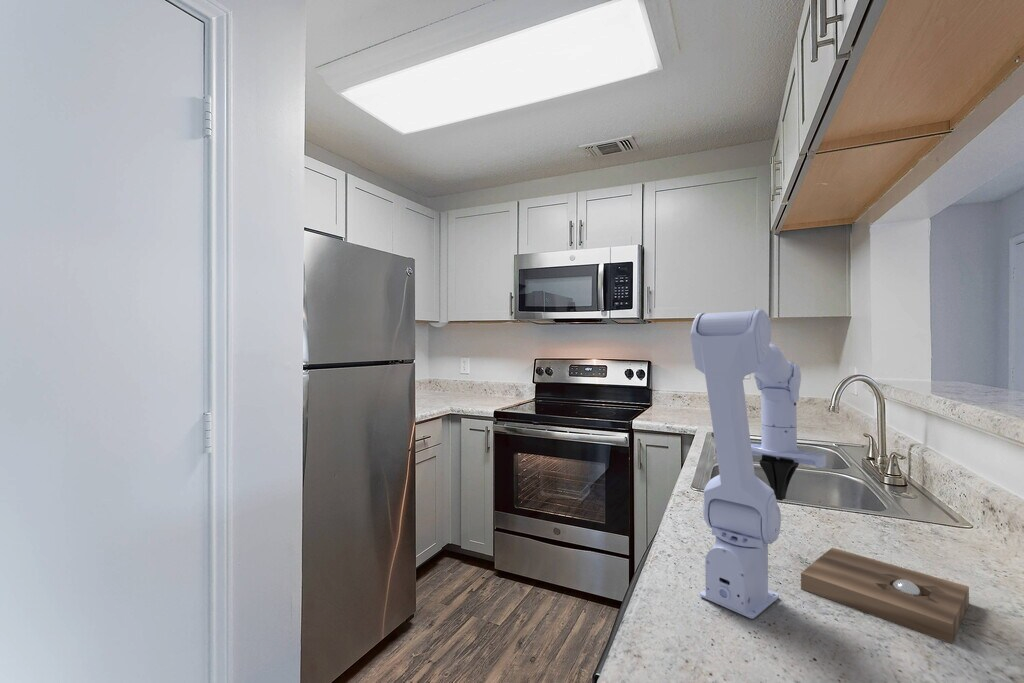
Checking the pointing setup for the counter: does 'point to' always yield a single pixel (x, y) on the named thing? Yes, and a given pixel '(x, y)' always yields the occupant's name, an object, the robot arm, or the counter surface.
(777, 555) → the counter surface
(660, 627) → the counter surface
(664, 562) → the counter surface
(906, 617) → the walnut plate
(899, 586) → the steel ball
